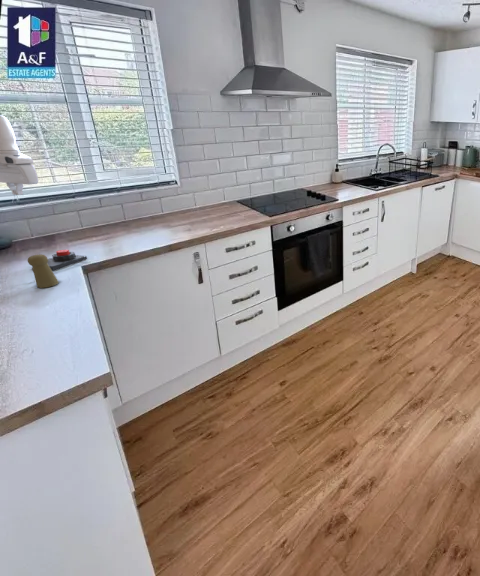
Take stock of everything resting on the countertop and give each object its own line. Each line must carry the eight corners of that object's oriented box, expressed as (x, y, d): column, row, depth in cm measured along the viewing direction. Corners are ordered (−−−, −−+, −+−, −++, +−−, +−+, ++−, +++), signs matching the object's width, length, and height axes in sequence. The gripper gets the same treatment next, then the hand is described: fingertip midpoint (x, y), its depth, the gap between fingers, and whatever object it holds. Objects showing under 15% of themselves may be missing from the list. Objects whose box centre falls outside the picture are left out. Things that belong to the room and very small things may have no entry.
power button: (62, 256, 147) (61, 252, 146) (54, 256, 148) (53, 251, 147) (72, 254, 151) (71, 250, 150) (64, 253, 151) (63, 249, 151)
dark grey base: (54, 274, 142) (50, 261, 140) (33, 271, 144) (29, 259, 142) (88, 263, 155) (85, 251, 153) (68, 260, 156) (65, 249, 155)
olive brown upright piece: (46, 288, 129) (34, 259, 124) (32, 287, 130) (19, 257, 125) (63, 281, 134) (51, 253, 130) (49, 280, 135) (37, 252, 131)
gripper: (-26, 157, 140) (-12, 194, 145) (18, 159, 136) (30, 197, 142) (-6, 156, 146) (6, 192, 151) (36, 159, 142) (47, 195, 147)
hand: (18, 194), depth 146 cm, fingers closed
